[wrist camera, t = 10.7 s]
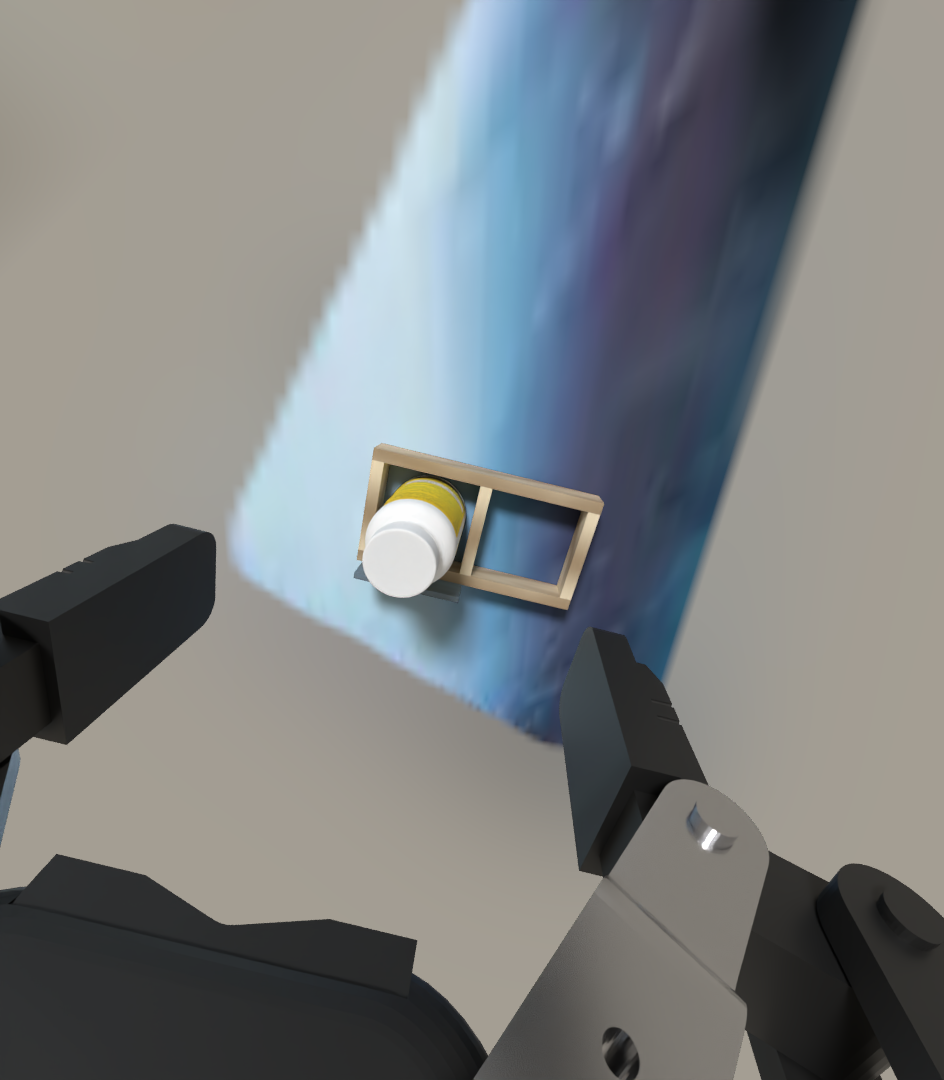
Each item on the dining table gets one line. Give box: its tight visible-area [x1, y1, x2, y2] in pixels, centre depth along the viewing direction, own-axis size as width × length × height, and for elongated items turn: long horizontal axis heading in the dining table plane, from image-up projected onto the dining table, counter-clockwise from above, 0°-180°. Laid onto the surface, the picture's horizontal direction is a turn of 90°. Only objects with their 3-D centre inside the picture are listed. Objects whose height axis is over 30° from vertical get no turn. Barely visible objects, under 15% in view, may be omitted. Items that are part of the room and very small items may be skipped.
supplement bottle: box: [362, 475, 466, 598], centre depth 29 cm, size 5×5×10 cm
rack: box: [354, 443, 604, 610], centre depth 32 cm, size 8×15×4 cm, turn 77°
